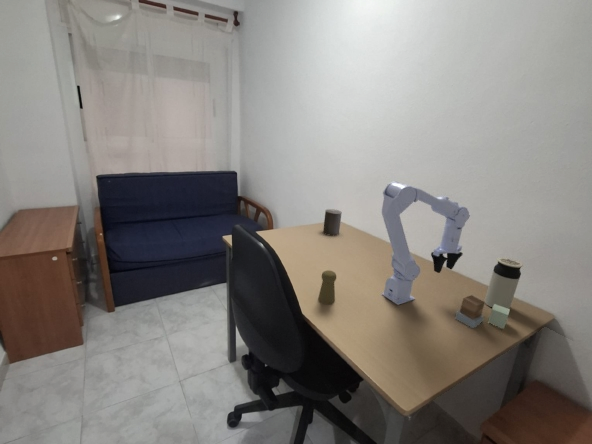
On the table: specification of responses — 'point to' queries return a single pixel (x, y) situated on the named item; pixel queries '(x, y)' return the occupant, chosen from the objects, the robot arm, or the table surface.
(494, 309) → the sage block
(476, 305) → the walnut block
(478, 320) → the slate slab
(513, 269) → the travel mug
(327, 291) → the olive pawn
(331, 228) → the pillar candle
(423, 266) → the table surface
